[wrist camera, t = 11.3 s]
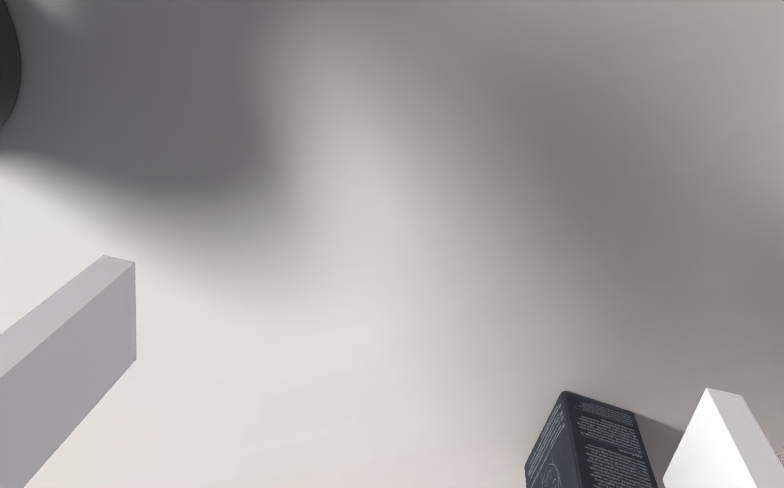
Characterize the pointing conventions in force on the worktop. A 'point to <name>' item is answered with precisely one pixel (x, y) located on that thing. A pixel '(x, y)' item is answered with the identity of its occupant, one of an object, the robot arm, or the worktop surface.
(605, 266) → the worktop surface
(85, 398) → the robot arm
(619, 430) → the box
